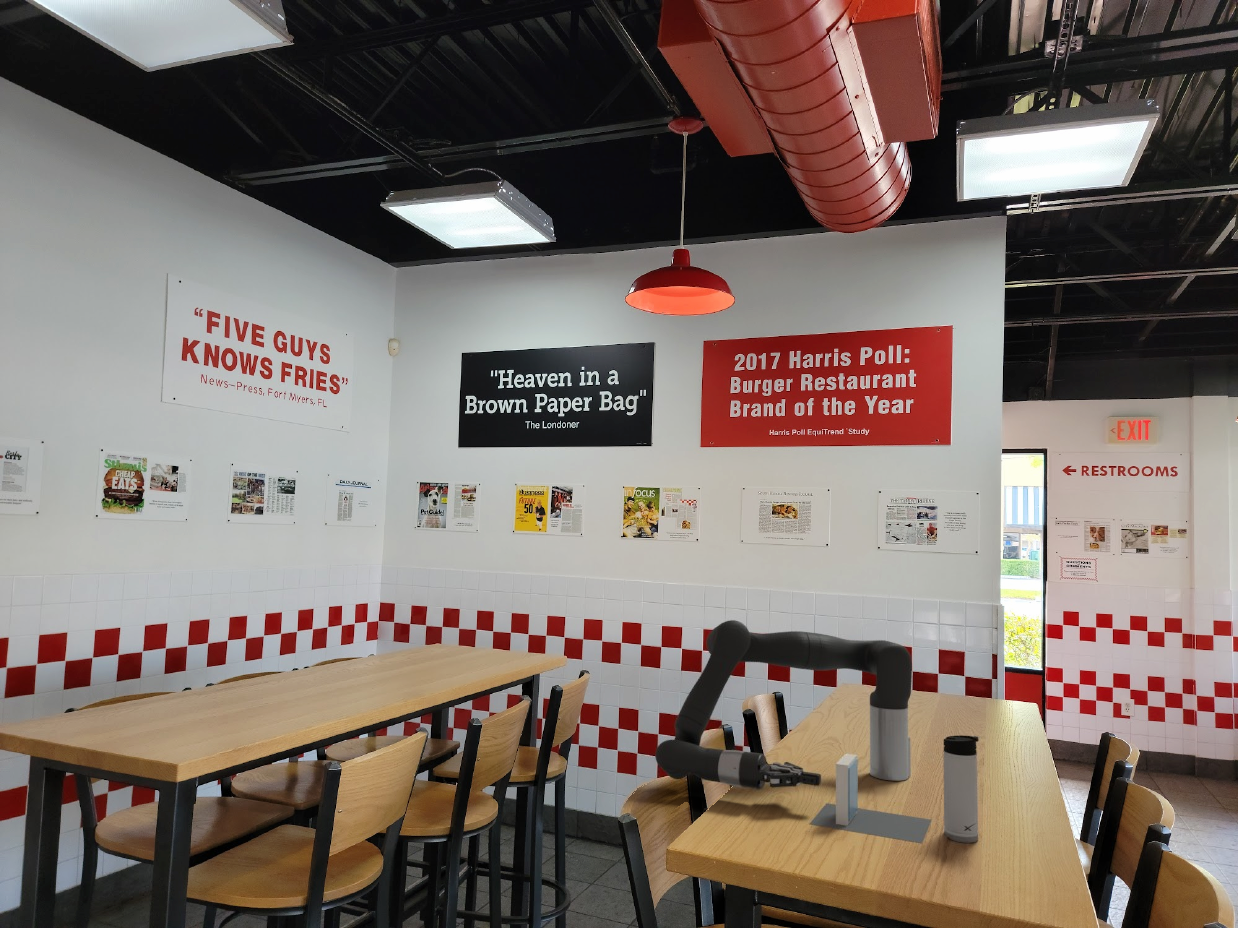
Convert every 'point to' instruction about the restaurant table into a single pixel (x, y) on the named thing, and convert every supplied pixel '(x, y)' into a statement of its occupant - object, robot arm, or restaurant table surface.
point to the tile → (846, 789)
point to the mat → (876, 824)
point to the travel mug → (960, 788)
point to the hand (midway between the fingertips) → (820, 779)
